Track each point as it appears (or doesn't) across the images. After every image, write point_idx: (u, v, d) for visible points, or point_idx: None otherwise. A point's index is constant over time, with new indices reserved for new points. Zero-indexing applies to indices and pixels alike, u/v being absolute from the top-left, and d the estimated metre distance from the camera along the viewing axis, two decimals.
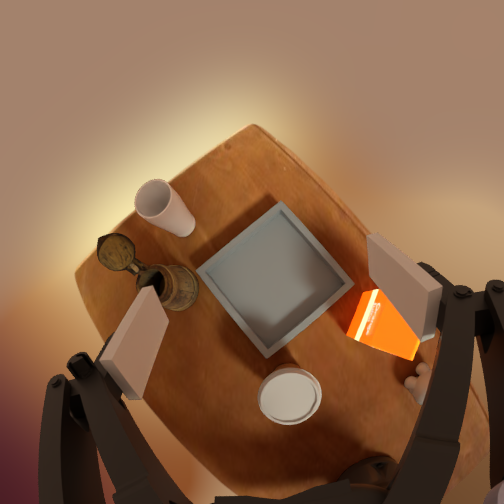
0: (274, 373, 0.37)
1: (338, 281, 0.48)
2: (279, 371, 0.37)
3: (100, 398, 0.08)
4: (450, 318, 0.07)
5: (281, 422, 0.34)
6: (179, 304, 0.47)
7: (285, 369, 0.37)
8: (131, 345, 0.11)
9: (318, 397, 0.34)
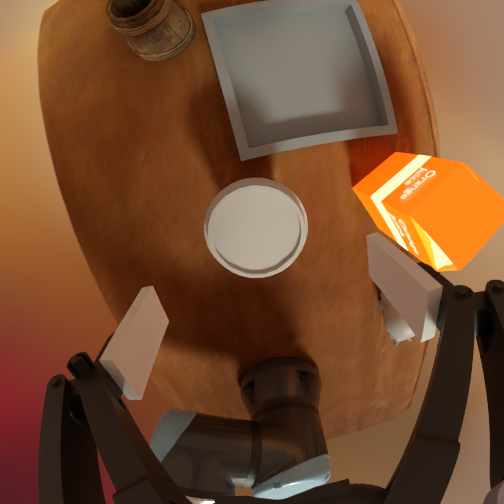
0: (251, 180, 0.23)
1: (377, 119, 0.30)
2: (260, 180, 0.23)
3: (100, 398, 0.08)
4: (450, 318, 0.07)
5: (227, 265, 0.25)
6: (155, 47, 0.23)
7: (271, 181, 0.23)
8: (131, 345, 0.11)
9: (298, 250, 0.25)
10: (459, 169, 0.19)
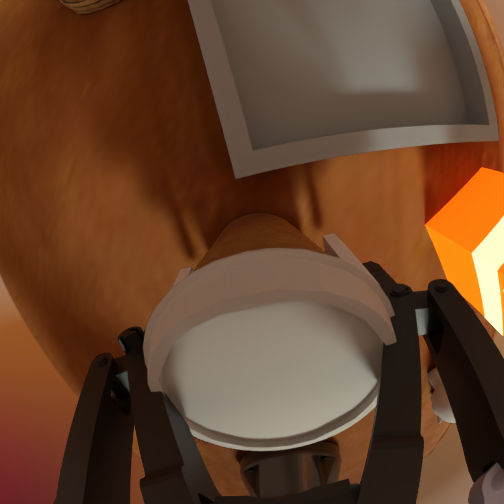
0: (267, 259, 0.07)
1: (465, 112, 0.14)
2: (296, 260, 0.07)
3: None
4: None
5: (207, 437, 0.09)
6: None
7: (326, 262, 0.07)
8: None
9: (368, 408, 0.09)
10: None
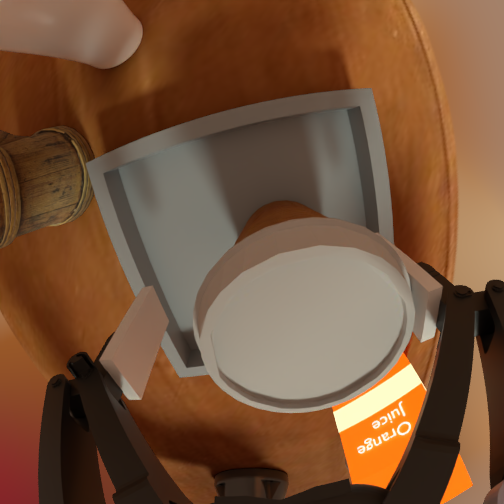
0: (309, 225, 0.09)
1: None
2: (331, 226, 0.09)
3: (100, 398, 0.08)
4: (450, 318, 0.07)
5: (245, 399, 0.11)
6: None
7: (354, 229, 0.09)
8: (131, 345, 0.11)
9: (389, 366, 0.10)
10: None
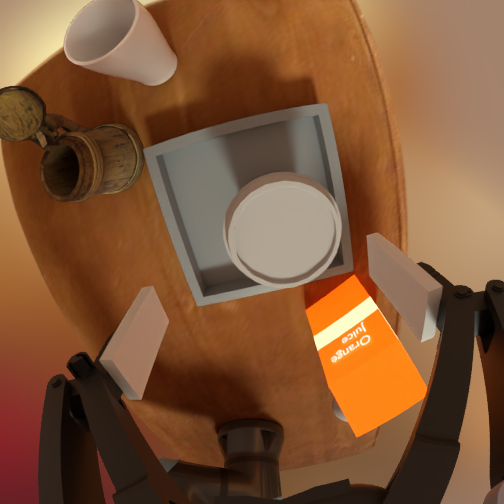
0: (279, 174, 0.19)
1: None
2: (290, 175, 0.19)
3: (100, 398, 0.08)
4: (450, 318, 0.07)
5: (250, 274, 0.21)
6: (104, 192, 0.27)
7: (302, 177, 0.20)
8: (131, 345, 0.11)
9: (332, 256, 0.21)
10: (391, 347, 0.23)
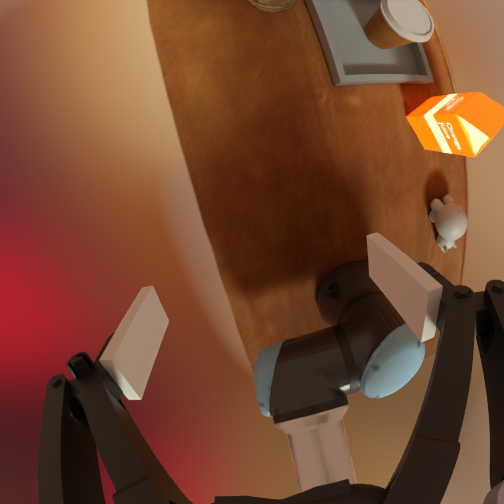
0: None
1: (418, 73, 0.35)
2: None
3: (100, 398, 0.08)
4: (450, 318, 0.07)
5: (400, 24, 0.23)
6: (276, 0, 0.29)
7: None
8: (131, 345, 0.11)
9: (432, 30, 0.22)
10: (477, 94, 0.24)
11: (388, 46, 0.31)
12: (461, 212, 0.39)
